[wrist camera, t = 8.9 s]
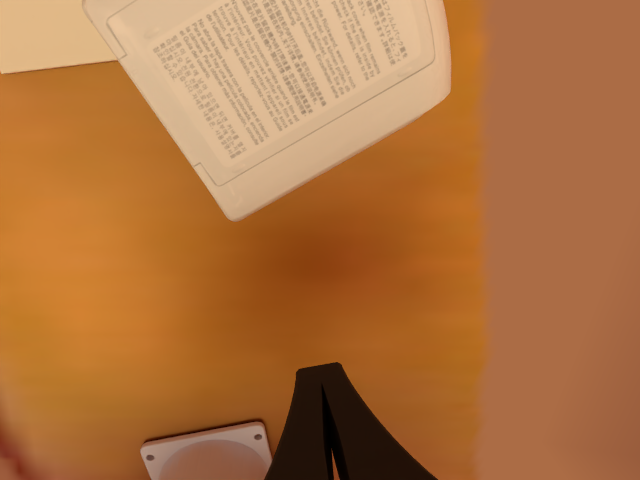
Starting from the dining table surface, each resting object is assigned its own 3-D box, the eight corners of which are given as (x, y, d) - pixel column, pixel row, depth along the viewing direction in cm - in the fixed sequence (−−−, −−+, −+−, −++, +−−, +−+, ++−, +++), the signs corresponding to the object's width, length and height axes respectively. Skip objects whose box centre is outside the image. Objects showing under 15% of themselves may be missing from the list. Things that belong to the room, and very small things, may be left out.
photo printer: (240, 208, 20) (446, 87, 20) (235, 239, 16) (494, 88, 16) (103, 11, 16) (357, -154, 15) (53, -11, 12) (391, -235, 11)
